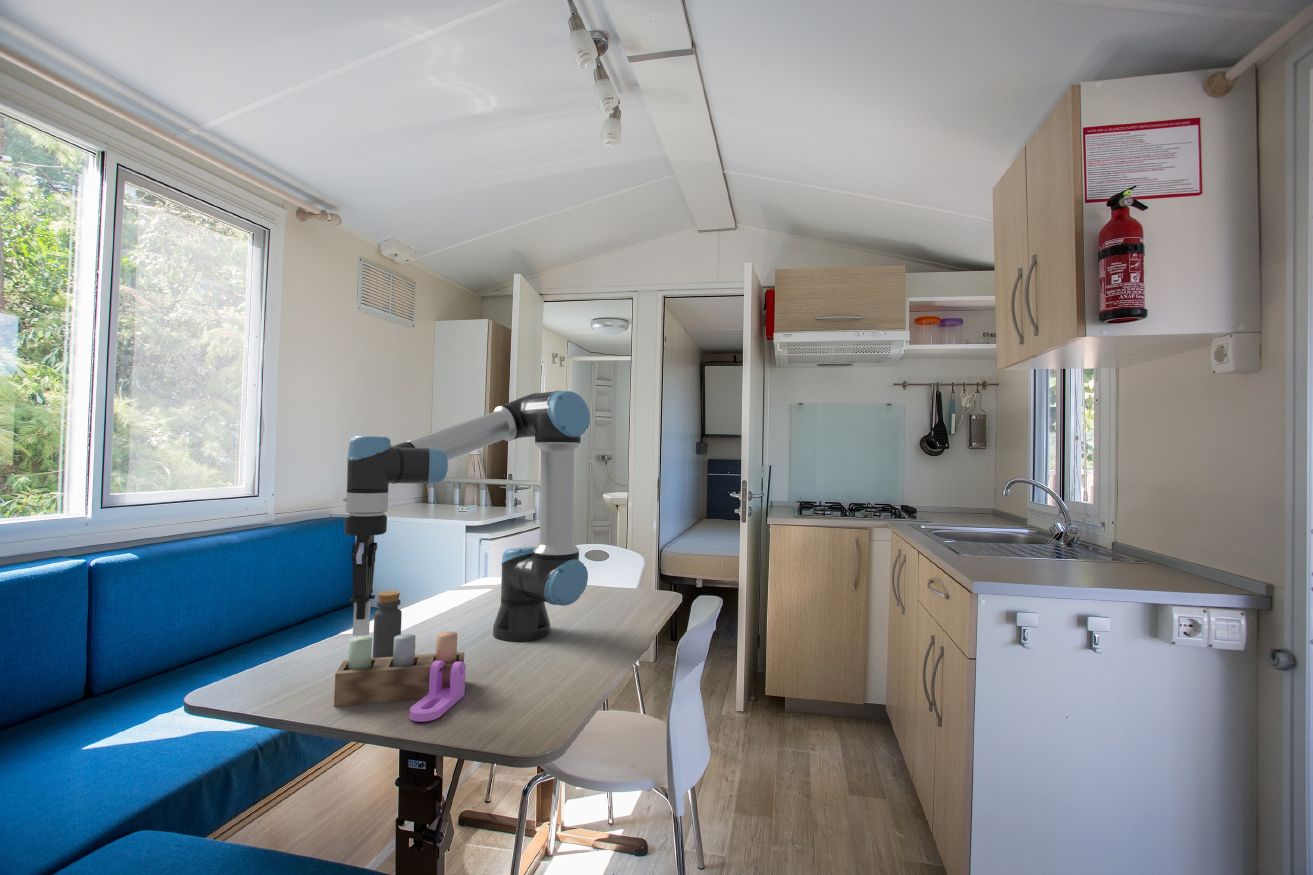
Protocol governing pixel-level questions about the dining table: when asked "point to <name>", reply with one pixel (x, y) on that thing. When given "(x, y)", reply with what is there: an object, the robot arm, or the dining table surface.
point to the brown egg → (446, 647)
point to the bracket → (440, 693)
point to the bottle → (386, 624)
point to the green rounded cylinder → (360, 653)
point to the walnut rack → (387, 680)
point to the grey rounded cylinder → (404, 650)
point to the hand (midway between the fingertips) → (360, 634)
